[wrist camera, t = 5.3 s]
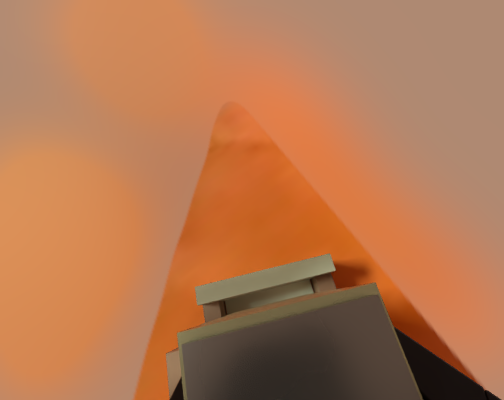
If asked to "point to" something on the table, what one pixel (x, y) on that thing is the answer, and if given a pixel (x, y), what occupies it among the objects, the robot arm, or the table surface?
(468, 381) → the robot arm
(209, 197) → the table surface
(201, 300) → the trap lane
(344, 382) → the olive tin
